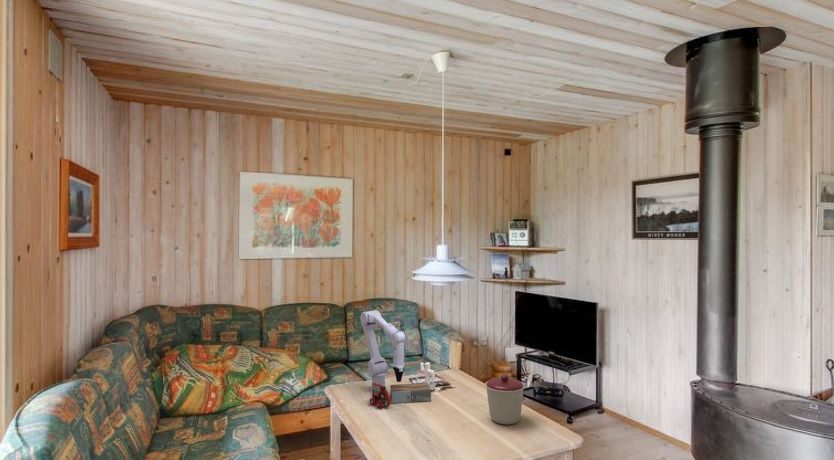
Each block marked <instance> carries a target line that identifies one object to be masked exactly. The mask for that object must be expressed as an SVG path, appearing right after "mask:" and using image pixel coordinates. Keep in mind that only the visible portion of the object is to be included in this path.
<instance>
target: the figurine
mask: <svg viewBox="0 0 834 460" xmlns="http://www.w3.org/2000/svg"><path fill="white" fill-rule="evenodd" d="M419 365H420V366H419V370H420V373H421V374H424V381H422V382H421V383H428V385H429V387H430V390H432V391H433V390H434V389H435V387H436V386H437V384H438V383H437V382H434V381H435V380H436V372H435V370H433V369H431V362H429V361H428V362H427V361H426V362H425V363H424V362H420V364H419Z"/></svg>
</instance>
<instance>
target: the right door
mask: <svg viewBox="0 0 834 460" xmlns="http://www.w3.org/2000/svg"><path fill="white" fill-rule="evenodd" d="M399 403H400V404H401V403H412V402H411V391H396V392H392V401H391V404H399Z"/></svg>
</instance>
